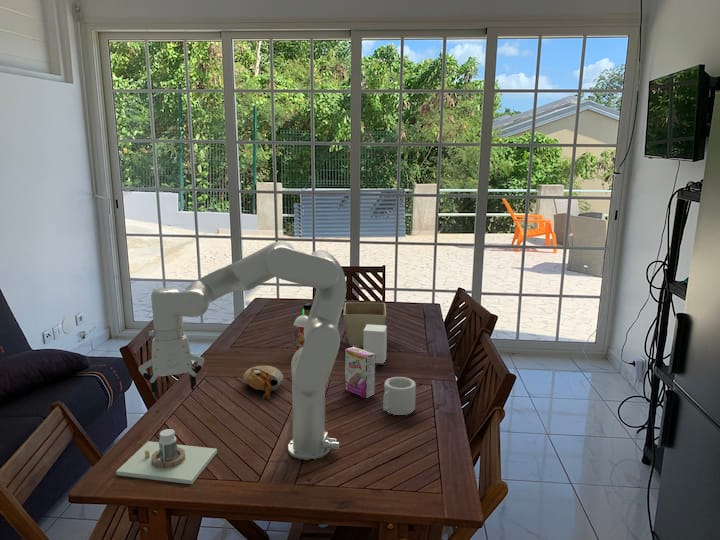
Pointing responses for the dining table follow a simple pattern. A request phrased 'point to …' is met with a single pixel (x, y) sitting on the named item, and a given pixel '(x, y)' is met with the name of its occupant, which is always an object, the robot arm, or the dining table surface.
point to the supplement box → (375, 341)
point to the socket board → (167, 463)
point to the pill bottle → (168, 445)
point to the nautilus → (263, 378)
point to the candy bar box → (360, 371)
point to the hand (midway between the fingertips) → (174, 391)
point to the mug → (399, 396)
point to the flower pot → (362, 319)
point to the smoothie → (300, 330)
